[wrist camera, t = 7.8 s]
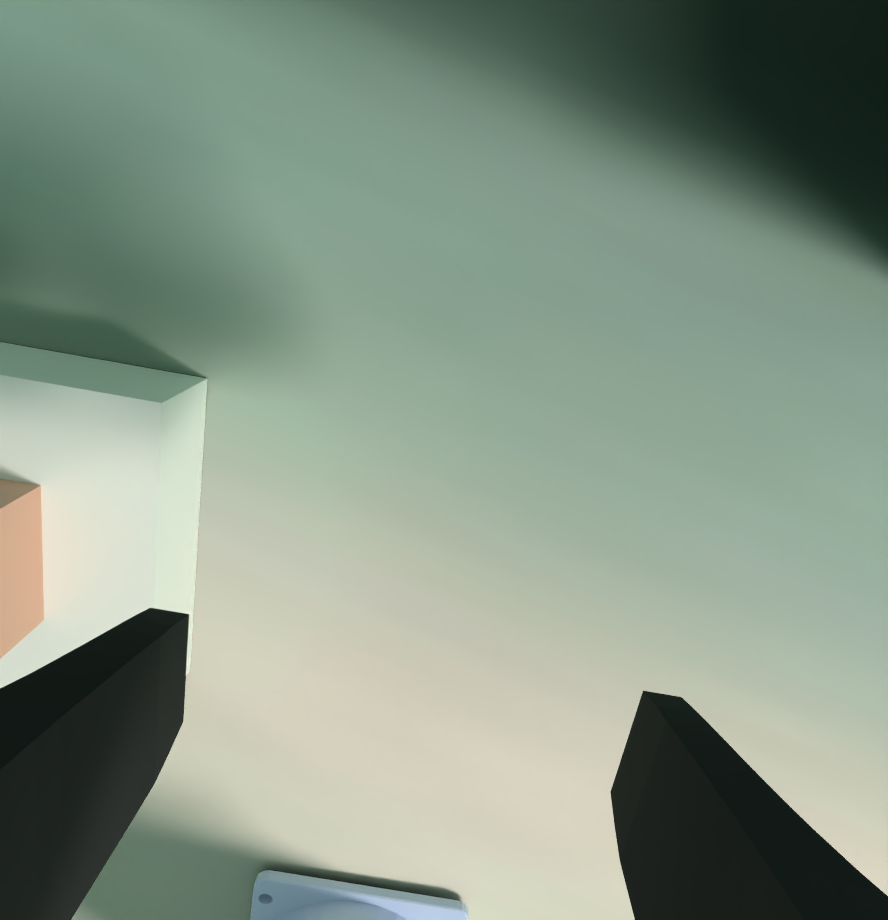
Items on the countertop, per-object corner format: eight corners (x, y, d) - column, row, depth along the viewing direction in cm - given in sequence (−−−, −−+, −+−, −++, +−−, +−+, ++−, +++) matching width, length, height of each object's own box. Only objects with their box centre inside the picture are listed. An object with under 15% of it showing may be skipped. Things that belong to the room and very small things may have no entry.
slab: (189, 670, 22) (149, 732, 19) (-111, 619, 22) (-197, 676, 19) (207, 378, 19) (161, 402, 16) (-144, 316, 19) (-252, 330, 16)
